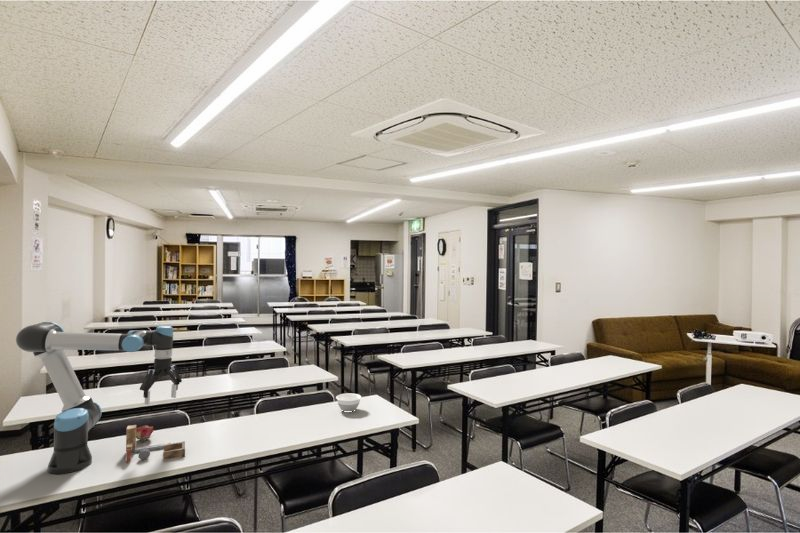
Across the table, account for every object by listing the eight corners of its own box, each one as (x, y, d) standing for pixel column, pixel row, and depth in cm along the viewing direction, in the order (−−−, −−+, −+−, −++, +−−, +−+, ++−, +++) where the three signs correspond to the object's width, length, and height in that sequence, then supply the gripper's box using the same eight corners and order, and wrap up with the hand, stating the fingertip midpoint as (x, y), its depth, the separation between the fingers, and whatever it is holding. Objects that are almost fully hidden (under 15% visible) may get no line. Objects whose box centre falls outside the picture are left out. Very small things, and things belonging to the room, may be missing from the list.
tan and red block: (123, 463, 184) (124, 436, 184) (126, 450, 196) (127, 425, 196) (133, 461, 185) (133, 435, 186) (135, 449, 198) (136, 424, 198)
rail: (126, 454, 193) (126, 451, 193) (127, 452, 195) (127, 449, 195) (170, 447, 202) (170, 444, 202) (170, 445, 204) (171, 442, 204)
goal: (163, 460, 188) (163, 452, 188) (163, 452, 197) (163, 444, 197) (184, 456, 192) (185, 448, 192) (184, 448, 201) (184, 441, 201)
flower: (156, 438, 208) (157, 422, 212) (136, 440, 201) (136, 423, 205) (148, 445, 212) (149, 430, 216) (128, 447, 206) (129, 431, 210)
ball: (138, 462, 186) (138, 452, 186) (138, 458, 190) (139, 448, 190) (149, 460, 188) (149, 450, 188) (150, 456, 192) (150, 446, 192)
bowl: (332, 413, 253) (332, 399, 253) (340, 405, 269) (340, 392, 269) (357, 415, 251) (357, 401, 251) (364, 407, 266) (364, 394, 266)
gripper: (142, 362, 193) (139, 408, 192) (190, 354, 215) (188, 395, 214) (132, 360, 196) (130, 405, 195) (181, 353, 218) (179, 393, 218)
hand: (160, 400), depth 205 cm, fingers open, 13 cm apart
